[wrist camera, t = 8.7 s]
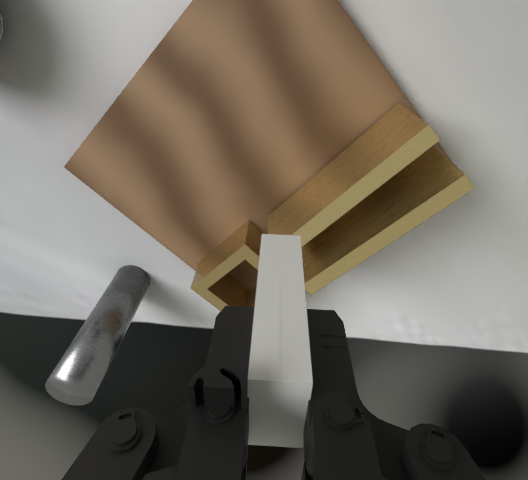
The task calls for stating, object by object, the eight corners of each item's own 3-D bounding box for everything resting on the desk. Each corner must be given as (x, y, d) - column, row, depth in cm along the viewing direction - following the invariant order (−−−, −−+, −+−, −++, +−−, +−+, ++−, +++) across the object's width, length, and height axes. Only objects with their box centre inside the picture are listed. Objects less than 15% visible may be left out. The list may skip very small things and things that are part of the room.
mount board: (268, -93, 21) (268, -98, 20) (454, 168, 29) (460, 173, 28) (71, 161, 30) (63, 167, 29) (253, 307, 38) (252, 315, 37)
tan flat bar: (399, 102, 25) (428, 124, 20) (408, 115, 26) (440, 139, 20) (268, 215, 30) (265, 255, 25) (278, 224, 31) (277, 265, 26)
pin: (129, 259, 35) (60, 369, 24) (156, 279, 37) (102, 392, 26) (110, 277, 37) (36, 389, 26) (137, 296, 38) (78, 410, 27)
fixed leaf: (395, 96, 25) (426, 118, 20) (443, 162, 28) (481, 197, 22) (199, 260, 34) (184, 306, 28) (249, 300, 36) (243, 350, 31)
